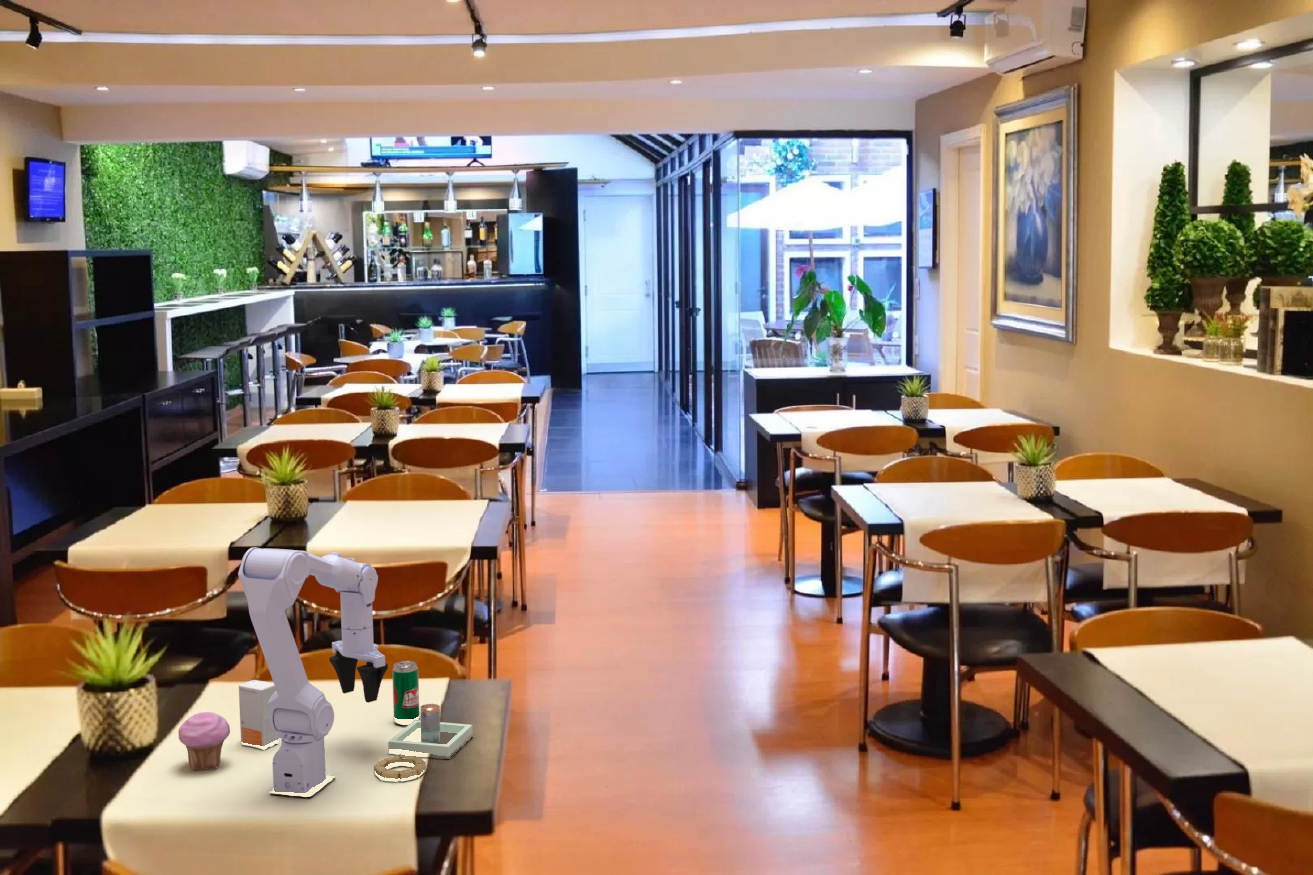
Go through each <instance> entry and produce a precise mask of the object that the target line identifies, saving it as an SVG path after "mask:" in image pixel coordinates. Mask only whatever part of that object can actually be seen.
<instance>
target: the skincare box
mask: <svg viewBox="0 0 1313 875" xmlns="http://www.w3.org/2000/svg"><path fill="white" fill-rule="evenodd" d="M275 691H276V688H275V685H274V682H268V681H265V680H264V681H263V680H257V679H252V680H249V681H245V682H243V683H241V684H239V685H238V698H239V699H238V700H239V721H240V722H239V724H240V726H239V727H240V728H239V729H240V743H241V742H243V743H248V744H252V745H260V746H265V745H267V744H269V743H271V742H273V741H275V740H278V739H279V740H280V738H278V732H276V731H274V730H273V728H272V726H271V723H270V709H269V706H268V702H269V700H270V698H271V696H272V695H273V693H274V692H275Z"/></svg>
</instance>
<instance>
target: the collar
mask: <svg viewBox="0 0 1313 875" xmlns="http://www.w3.org/2000/svg"><path fill="white" fill-rule="evenodd" d="M395 762H409V763H413V764H414V765H415V766H414V767H413V768H407V769H403V770H393V769H389V770H387V769H386V768H385V767H386V766H388V764H390V763H395ZM425 769H426V770H427V762H425V760H423V758H422V757H416V756H405V755H402V756H401V755H393V756H390V757H386V758H383V759H380V760H379V761H378V762H376V764H374V767H373V771H374V770H375V771H376V773H377V774H378V775H380V776H382V777H384V778H385V777H386V778H395V779H398V778H400V779H402V778H408V777H410V776H414V775H420V774H421V772H423V770H425Z"/></svg>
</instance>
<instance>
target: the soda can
mask: <svg viewBox="0 0 1313 875" xmlns="http://www.w3.org/2000/svg"><path fill="white" fill-rule="evenodd" d="M391 670H392V671H391V672H392V697H393V698H392V699H393V700H392V702H393V703H392V704H393V705H392V706H393V718H394V717H395V718H397V719H414V718H416V717H418V716H419V715H420V716H421V713H420V687H419V686H420V684H419V668H418V666H417V662H415V661H413V660H401V661H398V662H395V663H394V664H393V668H392V669H391Z"/></svg>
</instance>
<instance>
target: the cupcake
mask: <svg viewBox="0 0 1313 875" xmlns="http://www.w3.org/2000/svg"><path fill="white" fill-rule="evenodd" d="M177 734H178V740H179V741H180V743H181V744H183V745H184V746H185V748H186V749H187V751H186V752H187V755H188V756H187V757H188V758H187V759H188V765H189V767H190V769H192V770H193V771H200V770H208V769H209V770H210V768H214V769H217V768H216V767H218V766H219V767H220V762H221V754H222V749H223V744H224V742H225V740H226V739H228V737H229V736H230V734H231V728H230V724H229V723H228V721H227V719H226V718H225V717H223V716H221V715H219V714H217V713H215V712H210V711H209V712H208V711H206V712H205V711H204V712H199V713H195V714H193V715H191V716H189V717H188V718H187V719H186V720H185V721H184V722H182V723H181V725H180V726H179V728H178V733H177ZM219 767H218V768H219Z"/></svg>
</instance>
